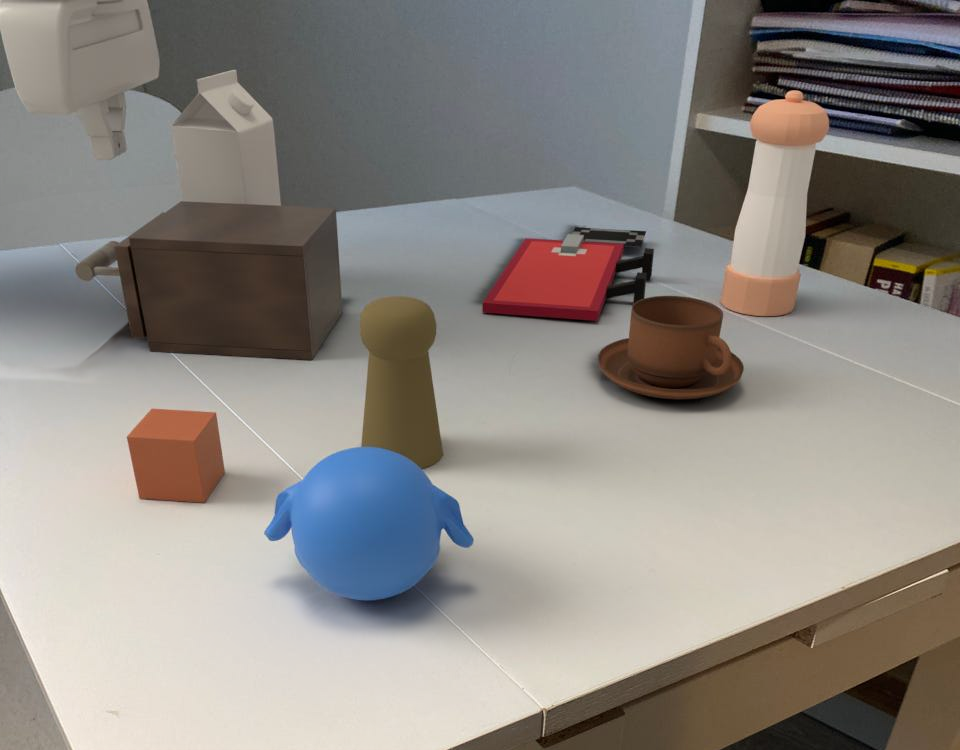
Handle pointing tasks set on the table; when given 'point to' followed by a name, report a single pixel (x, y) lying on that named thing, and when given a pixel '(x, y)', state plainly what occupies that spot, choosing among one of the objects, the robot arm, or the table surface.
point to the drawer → (126, 271)
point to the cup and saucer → (672, 350)
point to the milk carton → (226, 146)
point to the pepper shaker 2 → (774, 208)
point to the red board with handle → (569, 275)
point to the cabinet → (239, 279)
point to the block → (176, 455)
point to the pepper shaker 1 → (400, 379)
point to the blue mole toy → (367, 523)
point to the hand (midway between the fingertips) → (111, 156)
